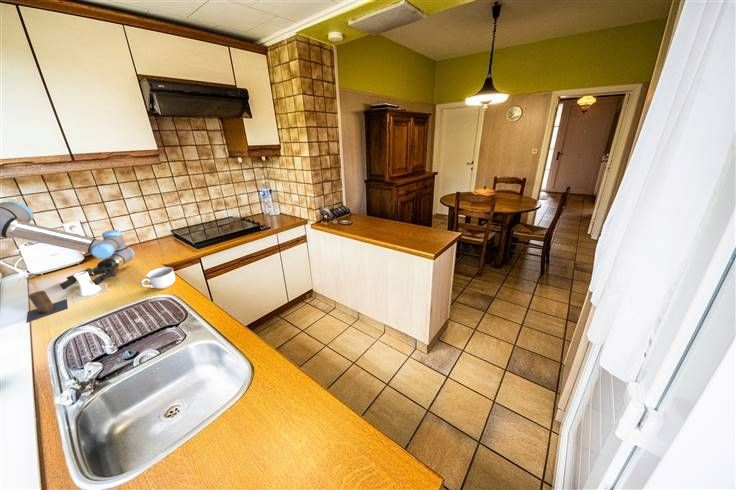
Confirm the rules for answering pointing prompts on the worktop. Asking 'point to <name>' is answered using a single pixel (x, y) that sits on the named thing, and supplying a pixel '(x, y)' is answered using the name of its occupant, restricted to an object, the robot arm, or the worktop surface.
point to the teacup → (160, 278)
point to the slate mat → (36, 315)
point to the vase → (86, 284)
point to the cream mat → (103, 290)
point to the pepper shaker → (41, 302)
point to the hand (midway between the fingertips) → (78, 285)
